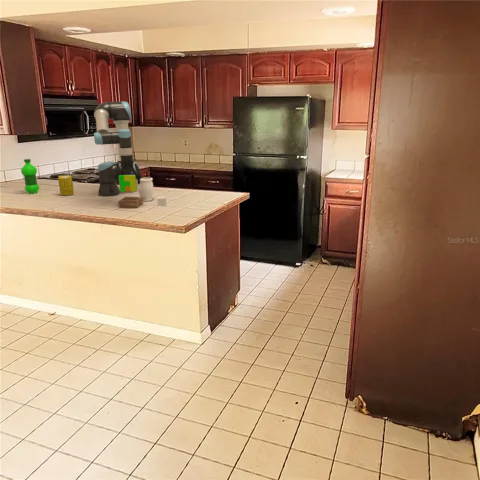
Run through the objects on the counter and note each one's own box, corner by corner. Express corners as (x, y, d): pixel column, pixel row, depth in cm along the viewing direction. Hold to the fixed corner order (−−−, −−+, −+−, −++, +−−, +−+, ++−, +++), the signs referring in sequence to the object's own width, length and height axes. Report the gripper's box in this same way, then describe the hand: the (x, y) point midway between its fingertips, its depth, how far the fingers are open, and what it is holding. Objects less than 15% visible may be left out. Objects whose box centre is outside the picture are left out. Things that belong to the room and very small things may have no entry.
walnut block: (126, 204, 283) (125, 196, 282) (143, 204, 282) (142, 196, 280) (119, 208, 272) (118, 200, 271) (137, 208, 271) (136, 201, 269)
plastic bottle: (36, 194, 313) (30, 160, 305) (22, 194, 313) (16, 160, 305) (42, 191, 322) (37, 158, 314) (29, 191, 323) (23, 158, 315)
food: (73, 194, 317) (73, 198, 308) (56, 192, 312) (56, 196, 304) (75, 175, 313) (76, 177, 304) (58, 172, 308) (58, 175, 299)
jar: (138, 199, 295) (136, 177, 290) (152, 197, 298) (151, 176, 294) (140, 202, 286) (138, 180, 281) (155, 201, 289) (153, 179, 284)
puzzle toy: (139, 188, 278) (137, 173, 275) (136, 191, 269) (134, 175, 266) (123, 188, 278) (122, 173, 275) (120, 191, 269) (118, 176, 265)
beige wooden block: (158, 204, 281) (158, 196, 279) (166, 204, 281) (165, 196, 279) (157, 206, 276) (157, 198, 274) (165, 205, 276) (164, 198, 275)
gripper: (106, 155, 265) (110, 189, 272) (141, 155, 260) (144, 190, 267) (112, 153, 272) (116, 187, 279) (146, 154, 267) (149, 188, 274)
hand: (129, 188), depth 273 cm, fingers closed on puzzle toy, 11 cm apart
